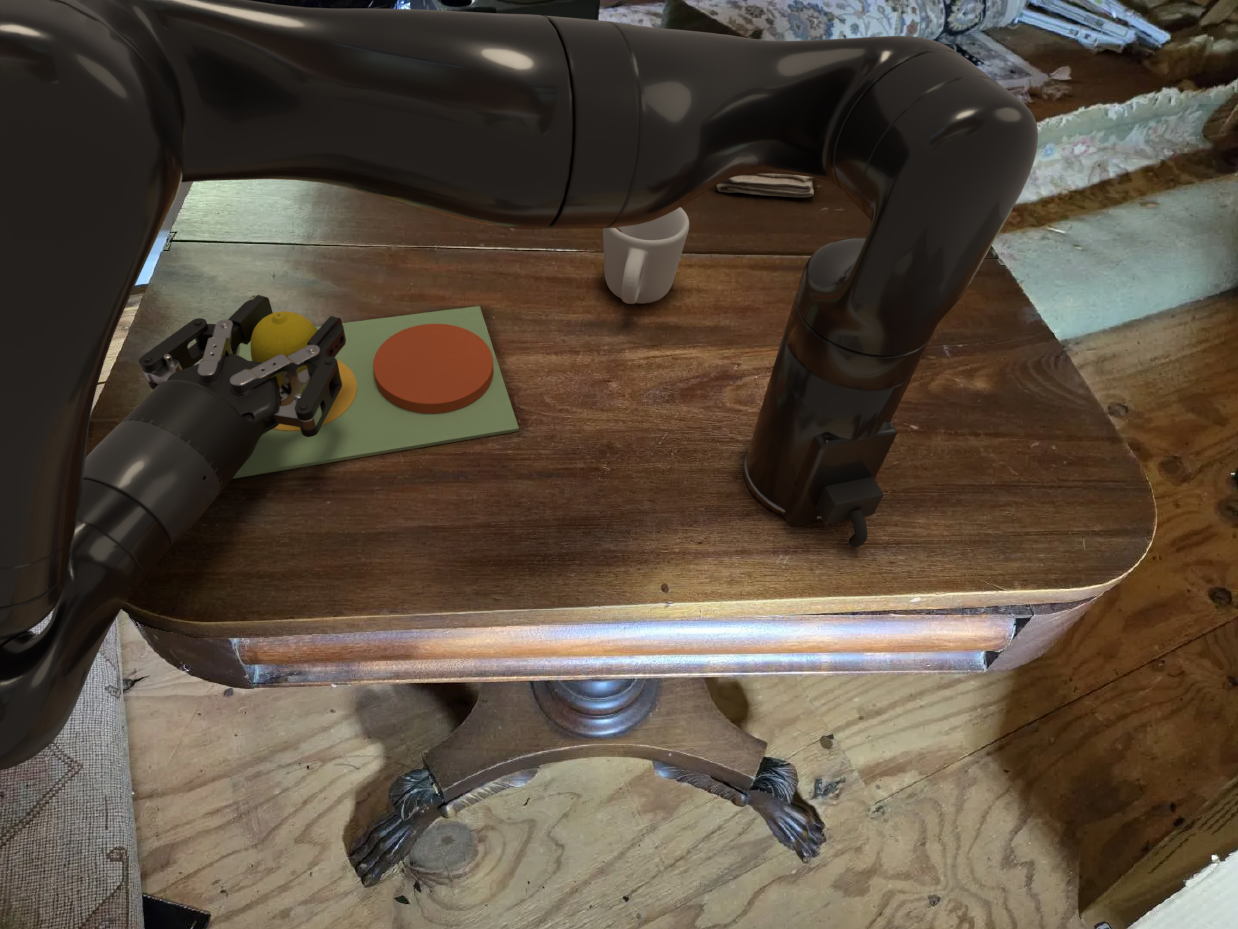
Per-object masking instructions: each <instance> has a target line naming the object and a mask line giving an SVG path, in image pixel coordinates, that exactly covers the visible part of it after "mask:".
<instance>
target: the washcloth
mask: <svg viewBox="0 0 1238 929" xmlns="http://www.w3.org/2000/svg"><path fill="white" fill-rule="evenodd" d="M813 179H814V178H813V177H807V176H799V175H787V174H747V175H741V176H735V177H732V178H729V179H727V180H724V181H723V182H721V183H719V184H717V185H715V186H716V190H717V191H718V192H720V193H726V194H735V193H737V194H738V193H739V194H747V195H755V196H756V195H757V196H768V197H769V196H770V197H784V198H785V197H788V198H811V197H813V196H814V195H815V193H814V192H815V190H814V182H813V181H814V180H813Z"/></svg>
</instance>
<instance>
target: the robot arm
mask: <svg viewBox="0 0 1238 929" xmlns="http://www.w3.org/2000/svg"><path fill="white" fill-rule="evenodd" d="M1038 144H1039V129H1038V123H1037V121H1036V118H1035V115H1034V114H1033V112H1032V111H1031V109H1030V108H1029V107H1028V106H1027V105H1026V104H1025V103H1024V102H1023V101H1022V100H1021V99H1020V98H1019V97H1017V96H1016V95H1014V94H1013V92H1011V91H1009V90H1008V89H1007V88H1006V87H1004V86H1003V85H1001V83H999V82H998V81H996V80H995V79H994V78H993V77H992V76H990V75H988V74H987V72H984V71H983V70H982V69H981V68H979V67H978V66H977V65H975V63H973V62H971V61H970V60H969V59H967V58H966V57H964V56H963V55H962V54H961V53H960V52H957V51H956V50H955V49H953V48H951V47H950V46H948V45H946V44H944V43H942V42H940V41H937V40H935V39H931V38H925V37H921V36H911V35H886V36H885V35H884V36H864V37H863V36H862V37H846V38H828V39H827V38H826V39H811V40H810V39H806V40H771V39H770V40H767V39H758V38H749V37H744V36H737V35H731V34H723V33H722V34H721V33H713V32H705V31H696V30H695V31H694V30H686V29H685V30H684V29H673V28H661V27H653V26H647V25H646V26H645V25H637V24H632V23H625V22H624V23H623V22H618V21H610V20H602V19H601V20H598V19H588V18H577V17H567V16H566V17H565V16H556V15H555V16H554V15H553V16H552V15H541V14H525V13H497V12H496V13H495V12H494V13H492V12H475V11H458V10H435V9H414V8H410V9H409V8H330V7H328V8H327V7H326V8H325V7H304V6H293V5H284V4H275V3H268V2H262V1H257V0H256V1H255V0H0V771H4V770H8V769H12V768H15V767H17V766H19V765H22V764H24V763H26V762H27V761H29V760H31V759H34V758H35V757H36V756H37V755H39V754H40V753H42V751H44V750H45V749H46V748H48V747H49V746H50V745H51V744H52V743H53V742H54V741H55V739H57V737H58V736H59V735H60V733H61V732H62V731H63V729H64V728H65V726H66V725H67V723H68V721H69V719H70V717H71V715H72V714H73V712H74V709H75V708H76V705H77V704H78V701H79V698H80V696H81V694H82V691H83V688H84V686H85V683H86V681H87V679H88V677H89V675H90V671H91V670H92V667H93V665H94V663H95V660H96V657H97V656H98V654H99V651H100V649H101V647H102V645H103V643H104V641H105V639H106V637H107V635H108V633H109V631H110V629H111V628H112V626H113V624H114V622H115V620H116V619H117V617H118V615H119V613H120V612H121V610H122V608H123V607H124V606H125V603H126V602H127V600H128V599H129V598H130V596H131V595H132V594H133V592H134V591H135V590H136V589H137V587H138V586H139V585H140V584H141V582H142V581H143V580H144V579H145V578H146V576H147V575H148V574H149V573H150V571H151V570H152V569H153V568H154V566H155V565H156V564H157V563H158V562H159V560H160V559H161V558H162V557H163V556H164V554H165V553H167V551H168V550H169V549H170V548H171V547H172V546H173V544H175V543H176V542H177V540H179V539H180V538H181V537H182V536H183V535H184V534H185V533H186V532H187V531H189V530H190V529H191V528H192V527H193V526H194V525H195V523H197V521H198V520H199V519H200V518H201V517H202V515H203V514H204V513H205V512H206V511H207V510H208V508H209V507H210V506H211V504H212V503H214V501H215V500H216V499H217V497H218V496H220V495H221V493H222V491H223V490H224V489H225V488H226V487H227V485H228V484H229V483H230V482H231V480H232V479H233V477H234V476H235V474H236V473H237V472H238V471H239V470H240V468H241V467H242V466H243V465H244V463H245V462H246V461H247V460H248V459H249V457H250V456H251V455H252V453H253V451H254V449H255V447H256V445H257V443H258V441H259V439H260V437H261V436H262V435H263V434H265V433H266V432H268V431H269V430H272V429H274V428H275V427H277V426H278V425H279V424H284V425H290V426H296V427H300V429H301V433H302V435H303V436H305V437H312V436H315V435H316V434H317V433H318V432H319V430H320V428H321V426H322V424H323V422H324V420H325V418H326V416H327V415H328V413H329V411H330V409H331V407H332V405H333V403H334V401H335V399H336V397H337V395H338V393H339V391H340V390H341V388H342V381H341V377H340V372H339V367H338V363H337V359H336V358H334V357H335V356H336V355H337V354H338V352H339V351H340V350H341V349H342V348H343V346H344V345H345V343H346V337H345V332H344V327H343V325H342V323H343V321H342V319H341V317H338V316H337V317H336V316H333V315H330V316H329V317H328V318H327V319H326V320H325V321H324V322H323V324H322V325H320V326H321V327H320V328H319V330H318V331H317V332H316V333H315V334H314V335H313V336H312V338H311V339H310V340H309V341H308V342H307V344H308V346H306V347H304V348H302V349H300V350H298V351H296V352H294V353H292V354H290V355H288V356H286V355H284V354H279V355H277V356H275V357H273V358H272V359H270V360H268V361H266V362H264V363H262V362H256V361H248V360H246V359H244V358H243V357H241V356H239V353H240V348H241V347H240V344H241V343H242V344H246V345H247V344H248V343H249V342H250V341H251V337H252V333H253V330H254V328H255V327H256V325H257V324H258V323H259V322H260V321H261V320H262V319H263V318H264V317H266V316H268V315H270V314H272V313H274V312H273V309H272V305H271V302H270V298H269V297H268V296H264V295H261V294H257V295H256V296H255V297H254V298H253V299H252V298H251V299H248V300H247V301H245V302H244V303H243V304H242V305H240V307H238V309H237V310H236V311H234V312H233V314H232V315H230V317H229V318H227V319H225V318H224V319H220V320H218V321H217V322H216V323H208V322H207V320H206V319H205V318H202V317H196V318H193V319H192V320H191V321H189V322H188V323H187V324H185V325H184V326H182V327H181V328H180V329H178V330H177V331H175V332H173V333H172V334H171V335H169V336H168V337H166V338H165V339H164V340H162V341H161V342H160V343H158V344H157V345H156V346H154V347H153V348H152V349H150V350H149V351H147V352H146V353H145V354H143V355H142V356H141V357H139V359H138V363H139V365H140V366H139V367H140V368H141V371H142V374H143V375H144V378H145V380H146V381H147V383H148V385H149V388H150V389H151V391H150V392H149V393H148V394H147V395H146V396H145V397H144V398H143V399H142V400H141V401H140V402H139V403H138V404H137V405H136V406H135V407H134V408H133V409H132V410H131V411H130V412H129V413H128V414H127V415H125V417H124V418H123V419H122V420H121V421H120V422H119V423H118V424H117V425H116V426H115V427H114V428H113V429H111V431H110V432H109V433H108V434H107V435H106V436H105V437H104V438H103V439H102V440H101V441H100V442H99V443H98V444H97V445H96V446H95V447H94V448H93V449H92V450H91V452H89V453H88V455H87V448H88V446H87V445H88V439H89V438H88V437H89V430H90V420H91V416H92V410H93V404H94V400H95V396H96V392H97V388H98V384H99V381H100V378H101V374H102V371H103V367H104V365H105V362H106V361H105V360H106V358H107V354H108V352H109V349H110V347H111V343H112V340H113V338H114V335H115V332H116V330H117V328H118V326H119V323H120V321H121V318H122V317H123V313H124V312H125V309H126V307H127V304H128V302H129V300H130V298H131V296H132V294H133V291H134V288H135V286H136V284H137V282H138V279H139V278H140V275H141V273H142V271H143V269H144V267H145V264H146V262H147V260H148V258H149V256H150V253H151V251H152V249H153V247H154V245H155V242H156V240H157V238H158V236H159V234H160V233H161V229H162V227H163V225H164V223H165V221H166V218H167V217H168V215H169V213H170V211H171V210H172V207H173V205H174V204H175V201H176V199H177V198H178V195H179V192H180V189H181V186H182V184H184V183H185V184H186V183H197V182H198V183H199V182H214V181H215V182H217V181H250V180H251V181H252V180H253V181H255V180H259V181H260V180H280V181H300V182H310V183H318V184H325V185H329V186H330V185H331V186H336V187H341V188H347V189H348V190H349V189H350V190H354V191H358V192H360V193H364V194H369V195H372V196H375V197H378V198H382V199H386V200H390V201H393V202H395V203H400V204H402V205H407V206H410V207H413V208H417V209H421V210H423V211H428V212H430V213H435V214H439V215H444V216H448V217H451V218H454V219H458V220H461V221H467V222H470V223H474V224H480V225H485V226H490V227H496V228H504V229H513V230H514V229H515V230H535V231H536V230H539V231H540V230H577V229H578V230H579V229H581V230H582V229H585V230H587V229H603V228H619V227H628V226H634V225H639V224H643V223H646V222H650V221H652V220H655V219H657V218H660V217H662V216H664V215H667V214H669V213H671V212H673V211H674V210H676V209H678V208H680V207H681V208H682V207H684V206H686V205H687V204H689V203H690V202H692V201H693V200H695V199H697V198H698V197H700V196H701V195H703V194H705V193H706V192H708V191H709V190H710V189H712V188H713V187H715V186H716V185H717V184H719V183H721V182H723V181H724V180H727V179H729V178H732V177H735V176H741V175H747V174H787V175H799V176H807V177H813V179H819V180H824V181H825V182H827V183H828V182H829V183H830V184H832V185H834V186H836V187H837V188H840V189H841V190H842V191H843V193H845V194H846V196H847V197H848V198H849V199H850V200H851V201H852V203H854V204H855V205H856V206H857V208H858V209H860V211H861V212H862V213H863V214H864V215H865V216H866V217H867V218H868V219H869V220H870V221H871V222H870V226H869V229H868V232H867V235H866V237H850V238H849V237H848V238H843V239H842V238H841V239H839V240H838V239H837V240H834V241H830V242H829V243H826V244H824V245H822V246H821V247H819V248H817V249H816V251H815V252H814V253H812V254H811V256H810V257H809V258H808V260H807V261H806V263H805V266H804V268H803V271H802V274H801V276H800V280H799V283H798V286H797V290H796V292H795V296H794V298H793V302H792V306H791V309H790V312H789V315H788V319H787V322H786V325H785V327H784V331H783V334H782V338H781V341H780V344H779V348H778V351H777V355H776V358H775V361H774V363H773V367H772V370H771V374H770V377H769V381H768V385H767V387H766V391H765V394H764V397H763V400H762V404H761V406H760V409H759V413H758V417H757V420H756V423H755V427H754V430H753V434H752V437H751V441H750V444H749V446H748V448H747V450H746V453H745V456H744V459H743V465H742V470H743V472H742V473H743V478H744V480H745V483H746V485H747V487H748V488H749V490H750V492H751V493H752V495H753V496H754V497H755V498H756V499H757V500H758V501H759V502H760V503H761V504H762V505H764V507H766V508H768V509H769V510H770V511H773V512H774V513H775V514H779V515H780V516H782V517H783V519H784V520H785V521H786V523H787V525H788V526H789V527H792V528H795V527H799V526H803V525H809V524H815V523H817V522H818V523H819V522H823V523H824V525H826V526H827V525H832V524H837V523H842V522H847V521H851V525H852V528H853V535H851V536H850V537H849V538H848V539H847V540H848V541H847V542H848V543H847V544H848V545H849V546H850V548H852V549H858V548H860V547H862V546H863V544H865V543H866V542H867V541H868V527H867V522H866V519H865V517H869V516H873V515H875V513H876V510H878V508H879V505H880V503H881V501H882V499H883V497H884V495H885V493H884V492H883V490H882V489H881V487H880V486H879V484H878V483H877V481H876V478H877V476H878V474H879V472H880V471H881V468H882V465H883V464H884V461H885V459H886V457H887V456H888V453H889V452H890V450H891V448H892V445H893V443H894V442H895V440H896V438H897V435H898V431H897V428H896V426H894V424H893V422H892V420H893V419H894V416H895V414H896V412H897V410H898V407H899V406H900V403H901V401H902V399H903V397H904V395H905V393H906V391H907V389H908V387H909V385H910V382H911V380H912V378H913V376H914V374H915V372H916V370H917V368H918V366H919V364H920V362H921V359H922V357H923V355H924V354H925V352H926V349H927V347H928V346H929V344H930V341H931V339H932V337H933V334H934V333H935V330H936V329H937V327H938V325H939V323H941V320H943V319H944V317H945V316H947V314H948V313H949V312H950V310H952V309H953V307H954V306H955V305H956V304H957V303H958V302H959V300H961V298H962V296H963V295H964V294H965V293H966V291H967V290H968V288H969V286H970V285H971V283H972V282H973V280H974V278H975V276H976V275H977V272H978V271H979V269H980V267H981V265H982V263H983V262H984V260H985V258H986V256H987V254H988V253H989V251H990V249H991V247H992V246H993V244H994V242H995V240H996V239H997V237H998V235H999V233H1000V232H1001V230H1002V229H1003V227H1004V225H1005V223H1006V221H1007V220H1008V218H1009V216H1010V214H1011V213H1012V211H1013V209H1014V208H1015V206H1016V204H1017V202H1018V200H1019V198H1020V196H1021V194H1022V193H1023V190H1024V188H1025V186H1026V183H1027V181H1028V179H1029V177H1030V175H1031V171H1032V170H1033V169H1032V168H1033V166H1034V163H1035V160H1036V155H1037V150H1038ZM193 341H195V343H194V344H192V345H191V346H190V347H189V344H190V343H192V342H193ZM198 362H199V363H198ZM305 365H306V366H307V368H306V369H304V370H302V371H300V372H298V373H297V371H298V369H299V368H301V367H303V366H305ZM278 374H280V375H281V379H282V385H281V386H280V387H279V384H278V381H277V378H276V375H278ZM305 387H306V388H305ZM303 388H305V390H304V391H303V393H302V390H303ZM301 393H302V395H301ZM293 399H294V400H293ZM291 400H293V401H292V402H291V403H290V404H288V405H285V406H282V405H284V404H286V403H288V402H289V401H291ZM51 613H52V614H51ZM50 614H51V618H50V619H49V621H48V623H47V624H46V626H45V627H44V628H43V630H42V631H41V632H39V633H36V632H34V631H32V629H33V628H35V627H36V626H38V625H39V624H41V623H42V622H43V621H44V620H45V619H46V618H47V617H48V616H49V615H50Z"/></svg>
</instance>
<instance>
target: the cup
mask: <svg viewBox="0 0 1238 929" xmlns="http://www.w3.org/2000/svg"><path fill="white" fill-rule="evenodd" d="M689 230H690V219H689V216H688V215H687V213H686V211H685V209H683V208H682V207H680V208H678V209H676V210H674V211H673V212H671V213H669V214H667V215H664V216H662V217H660V218H657V219H655V220H652V221H650V222H646V223H643V224H639V225H634V226H628V227H619V228H602V240H603V243H602V244H603V272H604V279H605V283H606V285H607V287H608V289H609V290H610V291H611V293H612V294H614V295H615V297H618V298H619V299H621V301H622V302H623V303H626V304H628V305H635V304H651V303H654V302H657V301H659V300H661V299H662V298H664V297H665V296H666V295H667V294H668V293H669V291H670V290H671V288H672V286H673V283H674V280H675V279H676V274H677V271H678V268H679V264H680V261H681V257H682V254H683V250H684V247H685V243H686V240H687V236H688V235H689Z"/></svg>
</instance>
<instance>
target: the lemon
mask: <svg viewBox="0 0 1238 929" xmlns="http://www.w3.org/2000/svg"><path fill="white" fill-rule="evenodd" d="M317 331H318V330H317V329H316V327H315V325H314V324H313V323H312V321H310V320H309V319H308V318H307V317H305V316H303V315H301V314H299V313H297V312H294V311H287V310H286V311H285V310H283V311H275V312H273V313H272V314H270V315H268V316H266V317H264V318H263V319H262V320H261V321H260V322H259V323H258V324H257V325H256V327H255V328H254V330H253V333H252V337H251V344H250V347H251V359H252V361H256V362H262V363H264V362H266V361H268V360H270V359H272V358H273V357H275V356H277V355H279V354H284V355H286V356H288V355H290V354H292V353H294V352H296V351H298V350H300V349H302V348H304V347H306V346H308V344H307V342H308V341H309V340H310V339H311V338H312V336H313V335H314V334H315V333H316V332H317ZM306 368H307V366H306V365H305V366H303V367H301V368H299V369H298V371H297V373H298V372H300V371H302V370H304V369H306ZM276 378H277V381H278V384H279V387H280V386H281V385H282V379H281V375H280V374H278V375H276ZM305 388H306V387H305ZM305 388H303V390H302V393H303V391H304V390H305ZM302 393H301V394H302Z"/></svg>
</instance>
